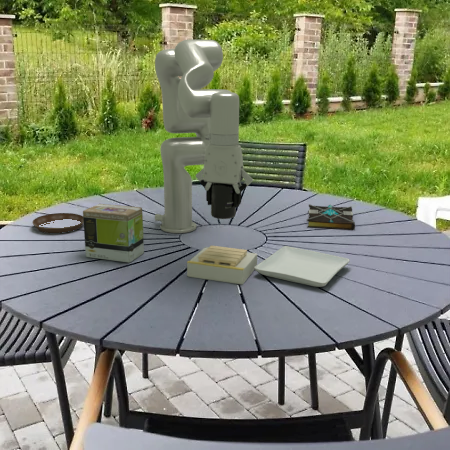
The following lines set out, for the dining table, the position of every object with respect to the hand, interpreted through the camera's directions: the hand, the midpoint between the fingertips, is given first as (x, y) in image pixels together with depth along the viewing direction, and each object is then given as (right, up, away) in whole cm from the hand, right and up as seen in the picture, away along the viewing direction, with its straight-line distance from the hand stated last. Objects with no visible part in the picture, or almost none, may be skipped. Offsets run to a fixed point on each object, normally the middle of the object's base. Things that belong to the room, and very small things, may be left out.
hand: (223, 204), depth 157 cm
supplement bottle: (0, -3, +1) cm, 3 cm away
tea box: (-33, -15, +17) cm, 40 cm away
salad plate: (+22, -20, +6) cm, 30 cm away
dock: (0, -19, +6) cm, 20 cm away
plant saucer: (-57, -7, +44) cm, 72 cm away
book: (+39, -5, +56) cm, 68 cm away
